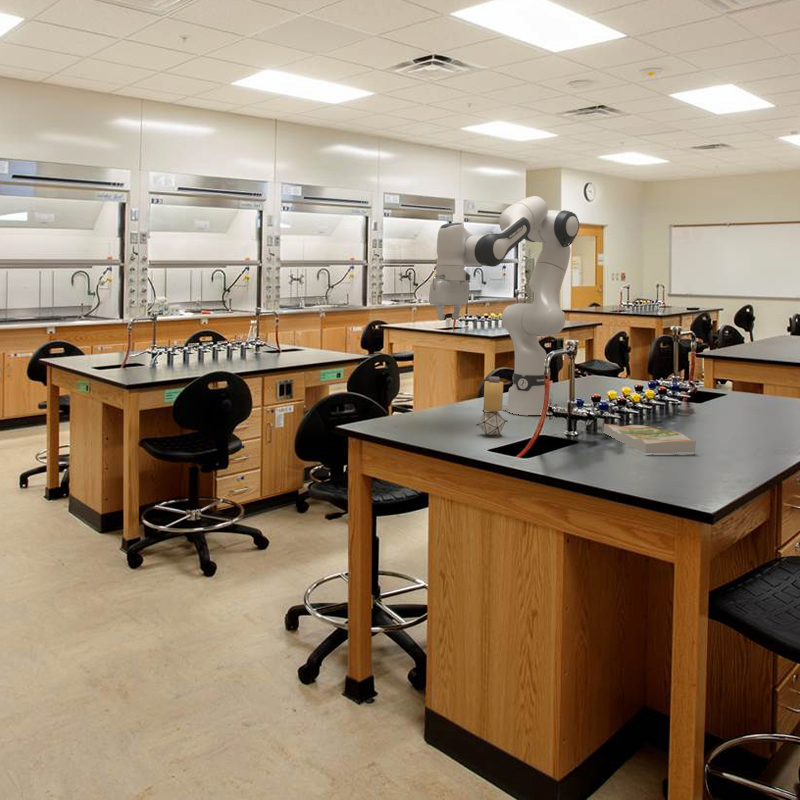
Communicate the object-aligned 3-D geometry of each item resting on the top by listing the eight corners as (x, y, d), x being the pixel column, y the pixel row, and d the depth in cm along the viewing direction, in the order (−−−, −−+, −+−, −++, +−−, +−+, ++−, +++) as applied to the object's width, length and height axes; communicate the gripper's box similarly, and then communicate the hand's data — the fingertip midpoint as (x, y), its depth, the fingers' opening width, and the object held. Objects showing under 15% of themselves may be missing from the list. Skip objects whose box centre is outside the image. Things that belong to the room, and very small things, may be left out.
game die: (495, 449, 238) (505, 426, 231) (469, 437, 239) (479, 414, 232) (503, 430, 244) (513, 408, 237) (478, 419, 245) (487, 397, 238)
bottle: (488, 407, 241) (489, 375, 240) (505, 409, 238) (506, 377, 237) (480, 410, 237) (481, 377, 235) (497, 412, 234) (498, 378, 232)
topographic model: (694, 456, 218) (696, 439, 217) (645, 457, 216) (646, 439, 215) (647, 435, 247) (648, 420, 247) (603, 435, 245) (604, 420, 245)
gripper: (442, 274, 237) (441, 320, 239) (473, 276, 254) (471, 318, 257) (424, 274, 241) (423, 319, 243) (456, 275, 258) (454, 318, 260)
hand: (448, 319), depth 250 cm, fingers open, 8 cm apart
